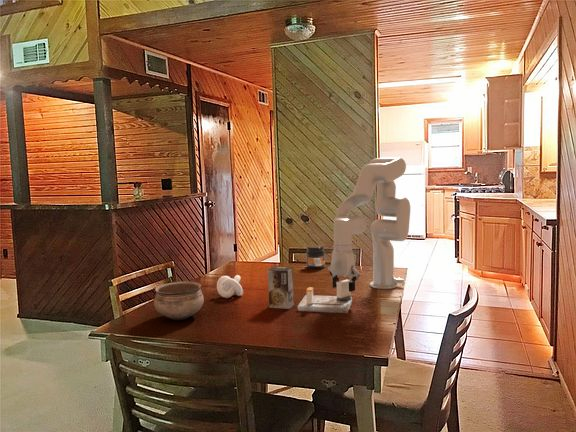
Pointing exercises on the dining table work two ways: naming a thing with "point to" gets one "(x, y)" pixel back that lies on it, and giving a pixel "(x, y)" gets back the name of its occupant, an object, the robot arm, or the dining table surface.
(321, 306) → the console
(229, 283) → the white rounded piece
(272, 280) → the coffee box
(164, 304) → the cooking pot
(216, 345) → the dining table surface
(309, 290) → the fader tab
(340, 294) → the dial
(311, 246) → the supplement container
